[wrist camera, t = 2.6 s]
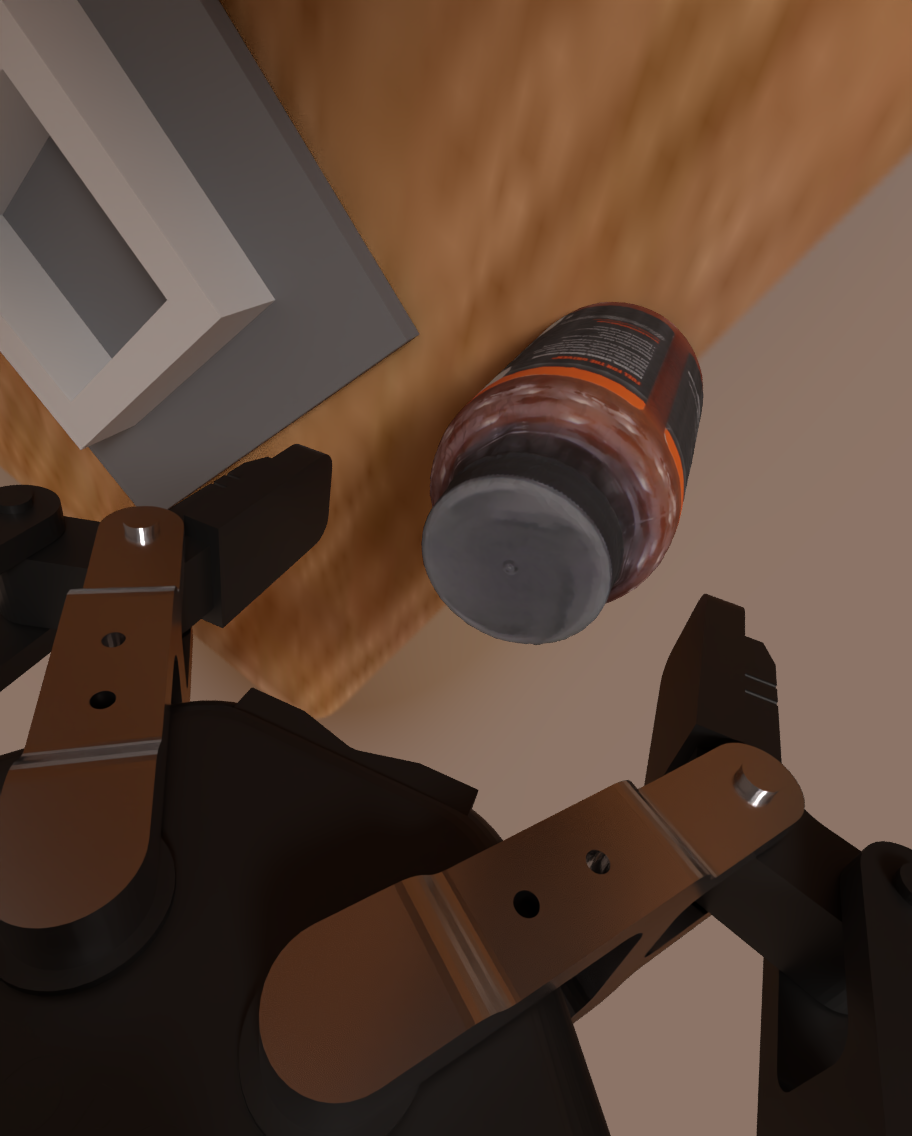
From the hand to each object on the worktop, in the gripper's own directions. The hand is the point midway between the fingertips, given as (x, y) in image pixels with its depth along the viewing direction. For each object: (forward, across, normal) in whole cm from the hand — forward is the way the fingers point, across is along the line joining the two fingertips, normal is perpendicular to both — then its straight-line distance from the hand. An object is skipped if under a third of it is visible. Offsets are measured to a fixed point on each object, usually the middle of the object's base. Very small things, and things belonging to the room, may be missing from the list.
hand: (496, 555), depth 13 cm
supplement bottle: (+11, 0, 0) cm, 11 cm away
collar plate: (+11, +19, 0) cm, 22 cm away
